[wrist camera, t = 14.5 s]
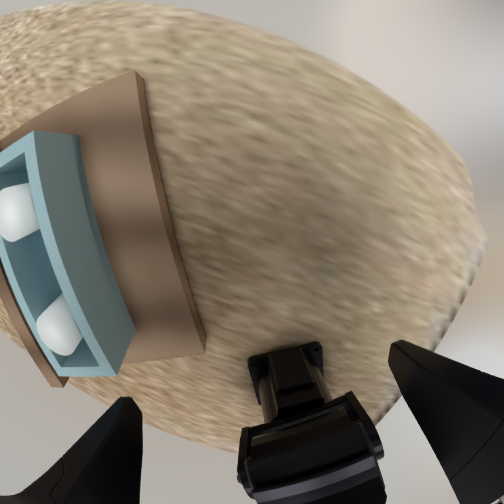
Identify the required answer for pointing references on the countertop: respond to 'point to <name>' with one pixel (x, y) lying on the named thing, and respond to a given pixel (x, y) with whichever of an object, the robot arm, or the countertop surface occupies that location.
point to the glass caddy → (60, 257)
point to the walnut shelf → (122, 221)
